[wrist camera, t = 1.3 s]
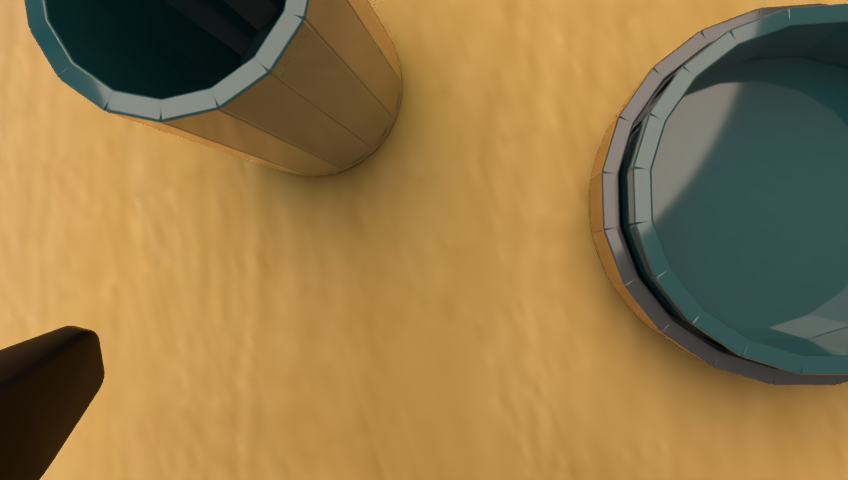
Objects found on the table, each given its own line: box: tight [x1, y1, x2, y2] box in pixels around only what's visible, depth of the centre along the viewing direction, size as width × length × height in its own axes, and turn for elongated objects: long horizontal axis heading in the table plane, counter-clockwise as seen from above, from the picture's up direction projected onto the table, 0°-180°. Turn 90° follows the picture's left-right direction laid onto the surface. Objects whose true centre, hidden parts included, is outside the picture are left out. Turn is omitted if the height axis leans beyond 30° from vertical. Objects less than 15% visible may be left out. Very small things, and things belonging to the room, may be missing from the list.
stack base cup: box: [589, 4, 848, 385], centre depth 20 cm, size 11×11×3 cm
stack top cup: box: [619, 4, 848, 375], centre depth 19 cm, size 10×10×5 cm
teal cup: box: [25, 0, 402, 176], centre depth 19 cm, size 6×6×10 cm
